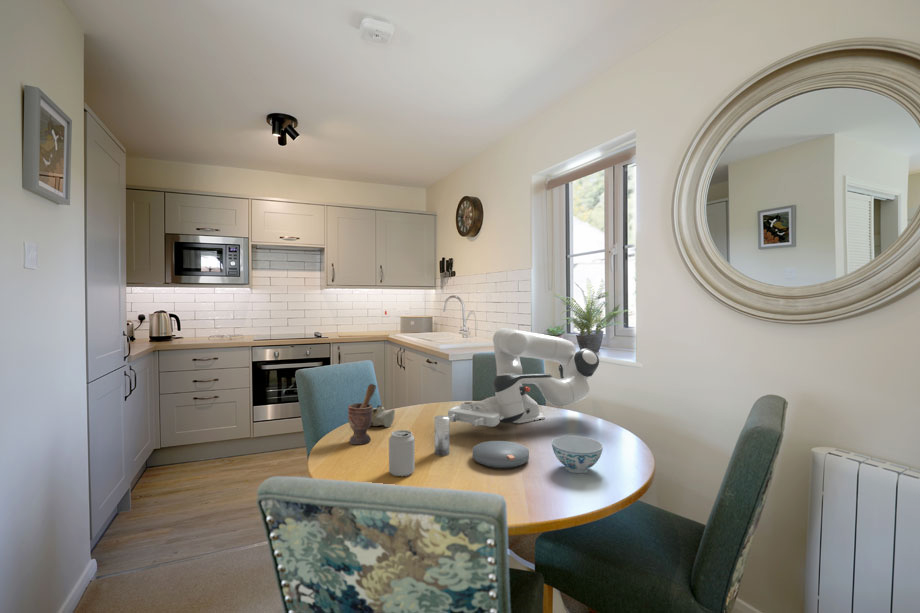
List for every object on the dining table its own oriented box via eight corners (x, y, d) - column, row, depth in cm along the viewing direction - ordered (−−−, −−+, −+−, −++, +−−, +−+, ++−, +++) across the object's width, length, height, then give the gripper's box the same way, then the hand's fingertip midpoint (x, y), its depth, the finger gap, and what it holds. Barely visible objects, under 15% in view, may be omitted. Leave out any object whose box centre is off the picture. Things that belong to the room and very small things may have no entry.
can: (409, 479, 122) (409, 437, 121) (385, 476, 123) (385, 435, 123) (417, 469, 129) (417, 429, 129) (394, 467, 130) (394, 428, 130)
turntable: (464, 450, 142) (464, 442, 142) (513, 444, 148) (513, 436, 148) (485, 470, 125) (485, 461, 125) (539, 462, 131) (539, 454, 131)
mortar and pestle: (357, 434, 162) (357, 382, 162) (379, 435, 161) (379, 383, 160) (344, 444, 151) (344, 388, 150) (367, 446, 149) (367, 389, 149)
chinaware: (572, 482, 119) (572, 455, 119) (541, 463, 133) (541, 439, 133) (613, 474, 125) (613, 447, 125) (580, 456, 139) (580, 433, 139)
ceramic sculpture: (387, 408, 167) (354, 408, 171) (389, 430, 167) (355, 429, 171) (399, 402, 177) (368, 402, 182) (401, 423, 177) (369, 422, 181)
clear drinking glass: (447, 449, 146) (447, 414, 146) (451, 454, 141) (451, 418, 141) (433, 451, 144) (433, 416, 144) (436, 456, 139) (437, 420, 139)
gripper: (506, 425, 158) (488, 435, 147) (459, 417, 169) (439, 426, 158) (505, 408, 158) (488, 416, 147) (459, 401, 169) (439, 409, 158)
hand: (462, 421), depth 152 cm, fingers open, 8 cm apart
